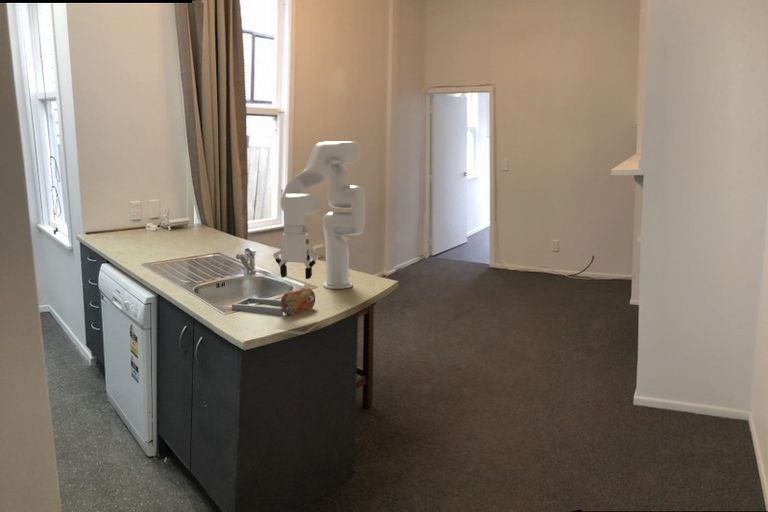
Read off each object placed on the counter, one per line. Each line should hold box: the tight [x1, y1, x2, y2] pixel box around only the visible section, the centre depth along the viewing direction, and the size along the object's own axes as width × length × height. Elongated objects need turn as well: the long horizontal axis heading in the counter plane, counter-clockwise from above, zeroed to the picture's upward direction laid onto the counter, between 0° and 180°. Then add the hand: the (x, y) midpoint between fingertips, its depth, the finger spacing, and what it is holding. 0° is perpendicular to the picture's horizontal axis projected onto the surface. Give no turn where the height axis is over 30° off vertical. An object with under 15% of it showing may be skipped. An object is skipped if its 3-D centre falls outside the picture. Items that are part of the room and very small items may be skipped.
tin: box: [280, 287, 316, 316], centre depth 212 cm, size 15×3×8 cm, turn 141°
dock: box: [231, 296, 284, 316], centre depth 216 cm, size 11×20×2 cm, turn 72°
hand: (296, 277), depth 210 cm, fingers open, 9 cm apart
